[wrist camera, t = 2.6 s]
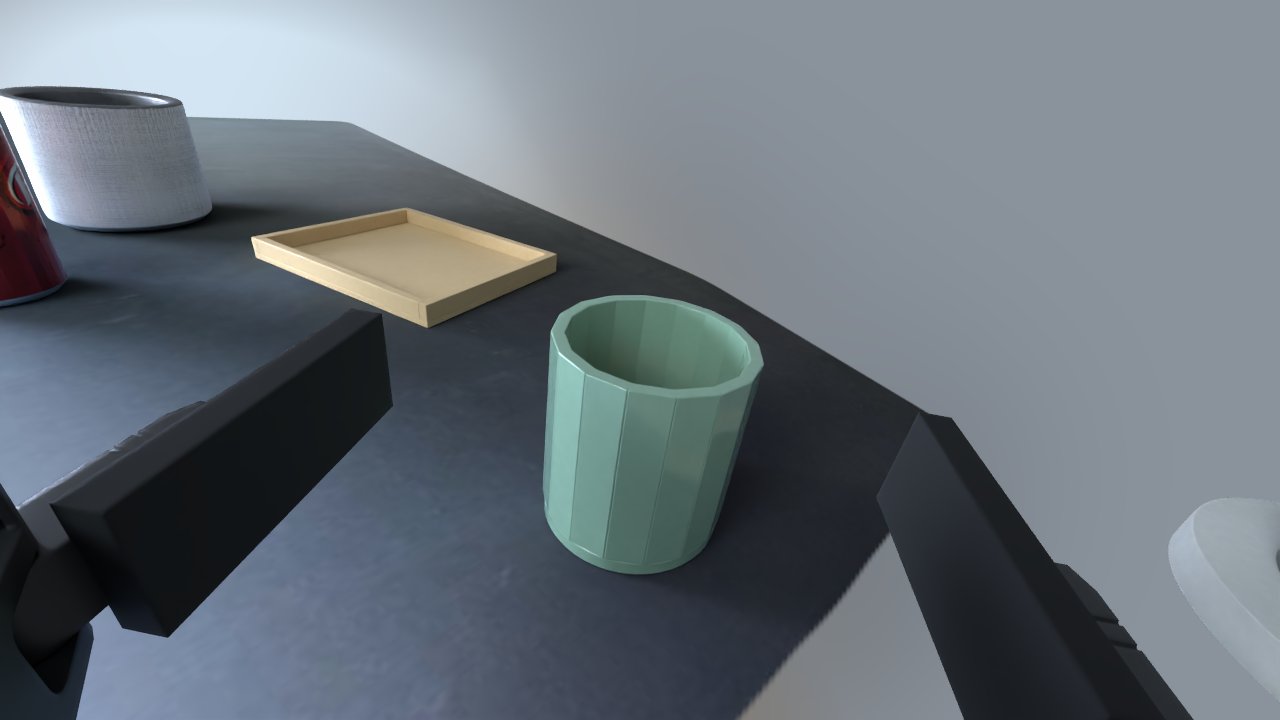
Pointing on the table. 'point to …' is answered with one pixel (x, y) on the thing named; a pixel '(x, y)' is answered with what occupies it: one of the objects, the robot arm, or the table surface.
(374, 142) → the table surface
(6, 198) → the soda can
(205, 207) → the planter
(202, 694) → the table surface
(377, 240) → the tray
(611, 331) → the cup
